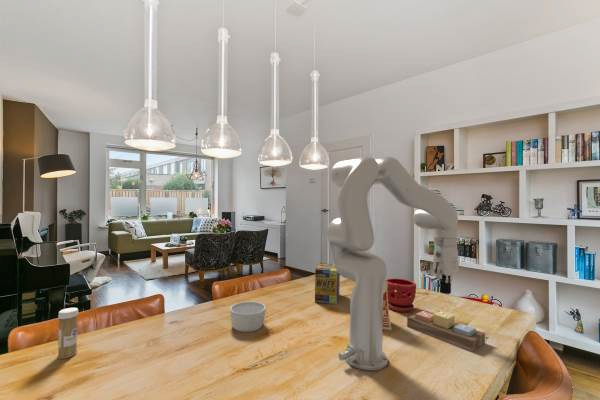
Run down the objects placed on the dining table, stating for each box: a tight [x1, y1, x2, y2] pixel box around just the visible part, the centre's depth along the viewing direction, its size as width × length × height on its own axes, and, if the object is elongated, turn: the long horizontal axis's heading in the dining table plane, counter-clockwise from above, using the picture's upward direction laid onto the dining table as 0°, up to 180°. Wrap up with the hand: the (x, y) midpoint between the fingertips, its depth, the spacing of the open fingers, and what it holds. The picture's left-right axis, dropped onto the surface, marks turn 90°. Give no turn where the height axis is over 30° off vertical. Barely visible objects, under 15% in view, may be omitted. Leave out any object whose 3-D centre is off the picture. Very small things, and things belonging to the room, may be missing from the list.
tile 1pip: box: [453, 322, 477, 338], centre depth 98 cm, size 5×5×4 cm
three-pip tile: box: [415, 310, 435, 323], centre depth 110 cm, size 5×5×4 cm
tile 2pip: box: [433, 310, 455, 329], centre depth 104 cm, size 5×5×4 cm
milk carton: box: [383, 281, 393, 331], centre depth 112 cm, size 9×9×20 cm
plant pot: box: [386, 278, 417, 313], centre depth 130 cm, size 13×13×12 cm
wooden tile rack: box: [406, 313, 486, 353], centre depth 104 cm, size 10×23×3 cm, turn 37°
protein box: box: [314, 262, 341, 305], centre depth 141 cm, size 10×15×16 cm
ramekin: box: [229, 300, 267, 333], centre depth 108 cm, size 13×13×7 cm
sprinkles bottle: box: [57, 307, 79, 360], centre depth 86 cm, size 5×5×14 cm
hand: (445, 292), depth 104 cm, fingers closed
